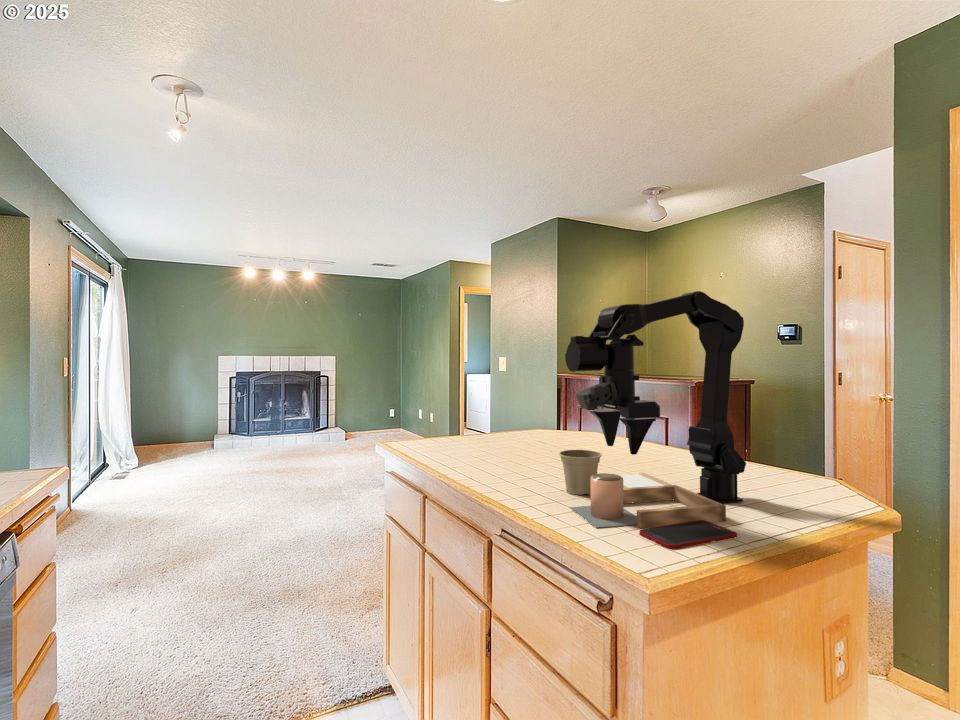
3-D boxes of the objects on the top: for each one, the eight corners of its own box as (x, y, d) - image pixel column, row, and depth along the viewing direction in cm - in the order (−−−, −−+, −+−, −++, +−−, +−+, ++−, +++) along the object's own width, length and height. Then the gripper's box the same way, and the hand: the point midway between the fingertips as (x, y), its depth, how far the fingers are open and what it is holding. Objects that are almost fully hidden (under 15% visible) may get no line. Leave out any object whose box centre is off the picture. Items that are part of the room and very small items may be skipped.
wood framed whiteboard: (599, 479, 121) (599, 475, 121) (643, 476, 123) (643, 472, 123) (634, 498, 104) (634, 493, 104) (685, 494, 106) (685, 490, 106)
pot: (614, 508, 96) (614, 472, 96) (629, 518, 90) (629, 479, 90) (585, 510, 95) (585, 473, 95) (599, 520, 89) (599, 481, 89)
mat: (616, 504, 99) (616, 503, 99) (648, 524, 88) (648, 522, 88) (569, 508, 97) (569, 507, 97) (596, 528, 86) (596, 527, 86)
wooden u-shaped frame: (675, 497, 104) (675, 484, 104) (725, 521, 89) (725, 505, 89) (601, 503, 100) (601, 489, 100) (640, 528, 85) (640, 512, 85)
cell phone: (636, 535, 83) (636, 530, 83) (703, 524, 88) (703, 519, 88) (670, 552, 76) (670, 546, 76) (740, 539, 81) (740, 533, 81)
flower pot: (603, 498, 104) (602, 458, 104) (558, 496, 106) (557, 456, 106) (601, 487, 113) (601, 450, 113) (560, 485, 115) (559, 449, 115)
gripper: (562, 370, 103) (564, 444, 103) (602, 372, 85) (605, 462, 85) (610, 368, 105) (613, 441, 105) (660, 370, 87) (663, 458, 87)
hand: (621, 450), depth 96 cm, fingers open, 9 cm apart
